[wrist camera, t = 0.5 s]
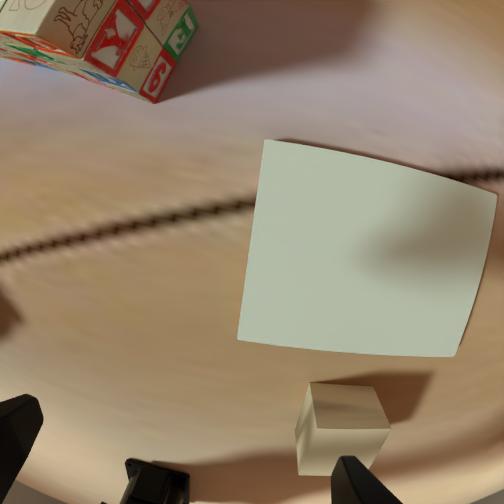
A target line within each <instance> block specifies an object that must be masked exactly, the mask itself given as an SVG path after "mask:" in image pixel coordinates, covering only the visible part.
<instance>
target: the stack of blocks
mask: <svg viewBox="0 0 504 504" xmlns="http://www.w3.org/2000/svg"><path fill="white" fill-rule="evenodd" d="M198 26H199V25H198V23H197V20H196V18H195V16H194V13H193V11H192V9H191V7H190V5H189V4H187V1H186V0H0V58H4V59H9V60H14V61H18V62H22V63H26V64H30V65H34V66H35V65H38V66H42V67H46V68H49V69H53V70H56V71H61V72H65V73H68V74H71V75H75V76H78V77H82V78H84V79H86V80H88V81H91V82H94V83H97V84H101V85H104V86H106V87H109V88H112V89H115V90H118V91H120V92H122V93H125V94H128V95H131V96H133V97H136V98H139V99H142V100H144V101H147V102H150V103H152V104H155V103H156V102H157V100H158V98H159V96H160V94H161V92H162V90H163V88H164V86H165V84H166V82H167V81H168V79H169V77H170V75H171V73H172V71H173V69H174V68H175V66H176V63H177V61H178V59H179V57H180V56H181V54H182V52H183V50H184V49H185V47H186V45H187V44H188V42H189V41H190V39H191V37H192V36H193V34H194V32H195V31H196V29H197V28H198Z"/></svg>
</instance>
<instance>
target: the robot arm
mask: <svg viewBox="0 0 504 504" xmlns="http://www.w3.org/2000/svg"><path fill="white" fill-rule="evenodd" d="M42 424H43V414H42V411H41V408H40V405H39V401H38V399H37V398H36V397H33V396H31V395H29V394H23V395H20V396H17V397H15V398H12V399H9V400H6V401H3V402H0V504H2V502H3V500H4V499H5V497H6V495H7V493H8V491H9V489H10V488H11V486H12V484H13V482H14V480H15V479H16V477H17V475H18V473H19V471H20V470H21V468H22V466H23V464H24V463H25V461H26V459H27V457H28V455H29V453H30V451H31V448H32V446H33V444H34V442H35V439H36V437H37V435H38V433H39V431H40V428H41V426H42ZM125 466H126V470H127V475H128V479H129V483H128V485H127V488H126V490H125V492H124V495H123V497H122V499H121V502H120V504H189V503H190V476H189V475H188V474H185V473H181V472H176V471H172V470H168V469H164V468H159V467H156V466H152V465H148V464H144V463H141V462H137V461H134V460H131V459H127V460H126V462H125ZM331 501H332V504H403V503H402V502H401V501H400V500H399V499H398V498H397V497H395V496H394V495H393V494H392V493H391V492H390V491H389V490H388V489H387V488H386V487H385V486H384V485H383V484H382V483H381V482H380V481H379V480H378V479H377V478H376V477H375V476H374V475H373V474H372V473H371V472H370V471H369V470H368V469H367V468H366V467H365V466H364V464H363V463H362V462H361V461H360V460H359V459H358V458H357V457H356V456H354V455H342V456H340V457H339V458H338V460H337V463H336V465H335V467H334V469H333V472H332V475H331ZM101 504H107V503H105V502H101Z"/></svg>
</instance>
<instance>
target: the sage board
mask: <svg viewBox="0 0 504 504" xmlns="http://www.w3.org/2000/svg"><path fill="white" fill-rule="evenodd" d="M497 196H498V195H497V194H494V193H491V192H488V191H485V190H482V189H479V188H476V187H473V186H470V185H467V184H464V183H461V182H458V181H455V180H451V179H448V178H445V177H441V176H438V175H435V174H431V173H428V172H424V171H420V170H417V169H413V168H409V167H405V166H401V165H397V164H393V163H389V162H385V161H381V160H377V159H372V158H368V157H363V156H359V155H354V154H349V153H344V152H339V151H334V150H329V149H324V148H318V147H312V146H307V145H301V144H295V143H288V142H282V141H275V140H268V139H265V141H264V148H263V155H262V162H261V169H260V176H259V184H258V191H257V198H256V205H255V212H254V220H253V227H252V234H251V241H250V248H249V256H248V263H247V270H246V278H245V285H244V292H243V299H242V307H241V314H240V321H239V329H238V336H237V340H243V341H250V342H257V343H264V344H272V345H279V346H288V347H296V348H305V349H315V350H325V351H336V352H348V353H362V354H377V355H397V356H426V357H454V356H455V353H456V351H457V348H458V346H459V343H460V341H461V338H462V335H463V332H464V330H465V327H466V324H467V321H468V318H469V315H470V312H471V309H472V306H473V303H474V300H475V296H476V293H477V290H478V286H479V283H480V279H481V275H482V271H483V268H484V264H485V259H486V255H487V251H488V246H489V242H490V237H491V232H492V227H493V221H494V215H495V209H496V203H497Z"/></svg>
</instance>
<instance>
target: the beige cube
mask: <svg viewBox="0 0 504 504" xmlns="http://www.w3.org/2000/svg"><path fill="white" fill-rule="evenodd" d="M390 430H391V426H390V424H389V422H388V419H387V417H386V415H385V412H384V410H383V408H382V406H381V403H380V401H379V399H378V396H377V394H376V392H375V390H374V387H373V386H356V385H337V384H322V383H309V386H308V389H307V393H306V396H305V399H304V403H303V406H302V409H301V413H300V416H299V419H298V422H297V425H296V429H295V435H296V448H297V462H298V475H308V476H331V475H332V472H333V469H334V467H335V465H336V463H337V460H338V458H339V457H340V456H342V455H354V456H356V457H357V458H358V459H359V460H360V461H361V462H362V463H363V464H364V466H365V467H366V468H367V469H369V468H370V466H371V464H372V463H373V461H374V459H375V458H376V456H377V454H378V452H379V451H380V449H381V447H382V445H383V443H384V442H385V440H386V438H387V436H388V434H389V432H390Z"/></svg>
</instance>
